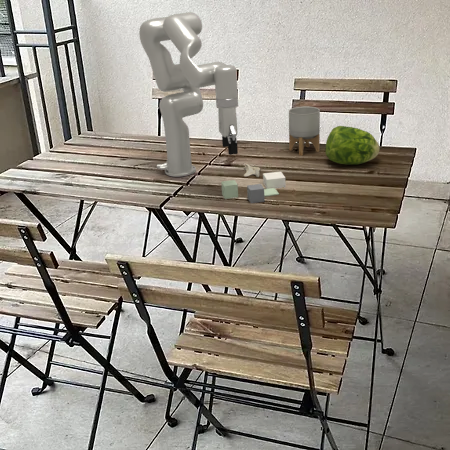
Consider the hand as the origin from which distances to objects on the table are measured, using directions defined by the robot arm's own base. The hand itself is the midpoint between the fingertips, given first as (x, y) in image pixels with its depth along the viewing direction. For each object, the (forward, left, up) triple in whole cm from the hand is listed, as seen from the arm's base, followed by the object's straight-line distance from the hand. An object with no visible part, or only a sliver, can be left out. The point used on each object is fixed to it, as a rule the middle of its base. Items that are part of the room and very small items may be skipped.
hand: (230, 150), depth 223 cm
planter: (+40, +39, -17) cm, 59 cm away
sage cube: (-1, -1, -17) cm, 17 cm away
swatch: (+13, -3, -17) cm, 21 cm away
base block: (+17, +4, -17) cm, 25 cm away
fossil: (+12, +20, -18) cm, 29 cm away
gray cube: (+7, -8, -17) cm, 20 cm away
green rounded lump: (+53, +17, -17) cm, 59 cm away
